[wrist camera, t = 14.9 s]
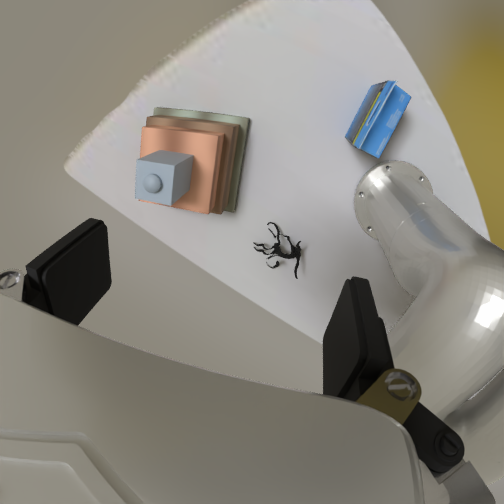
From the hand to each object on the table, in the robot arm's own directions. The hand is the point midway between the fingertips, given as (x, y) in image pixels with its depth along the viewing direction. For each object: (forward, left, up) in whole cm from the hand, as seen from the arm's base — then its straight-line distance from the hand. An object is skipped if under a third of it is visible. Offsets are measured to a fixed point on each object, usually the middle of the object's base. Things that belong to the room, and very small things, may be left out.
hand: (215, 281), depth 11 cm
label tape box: (-11, -7, -35) cm, 37 cm away
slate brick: (+12, +4, -26) cm, 29 cm away
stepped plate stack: (+12, +4, -34) cm, 37 cm away
